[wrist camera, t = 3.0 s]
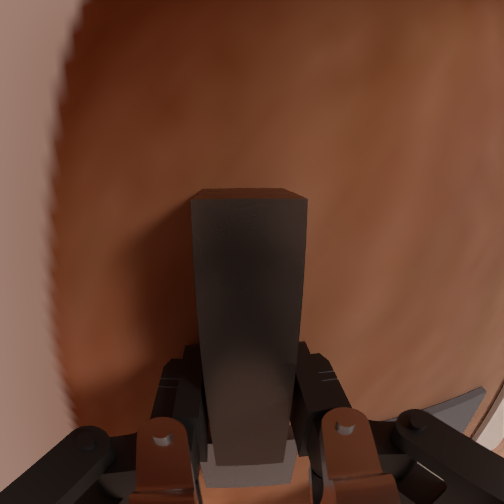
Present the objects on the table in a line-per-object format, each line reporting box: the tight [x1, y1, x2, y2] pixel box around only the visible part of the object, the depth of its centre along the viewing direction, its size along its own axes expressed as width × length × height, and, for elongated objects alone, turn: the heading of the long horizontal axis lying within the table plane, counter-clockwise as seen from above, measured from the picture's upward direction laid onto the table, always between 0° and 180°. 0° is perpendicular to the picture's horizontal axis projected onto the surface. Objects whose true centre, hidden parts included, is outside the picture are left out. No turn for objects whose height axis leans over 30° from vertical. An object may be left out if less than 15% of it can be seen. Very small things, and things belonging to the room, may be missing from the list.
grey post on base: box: [191, 188, 308, 488], centre depth 9 cm, size 13×4×3 cm, turn 0°
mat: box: [386, 387, 487, 433], centre depth 14 cm, size 12×10×1 cm
